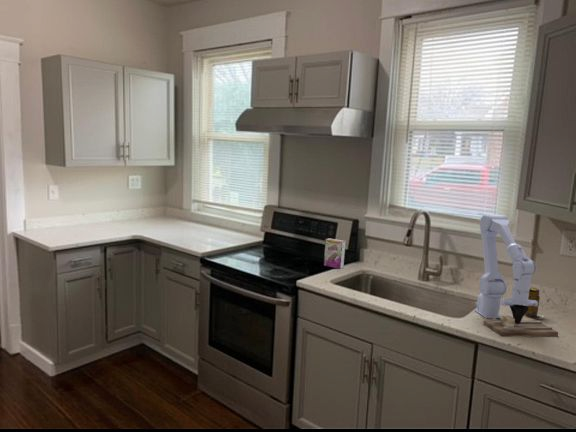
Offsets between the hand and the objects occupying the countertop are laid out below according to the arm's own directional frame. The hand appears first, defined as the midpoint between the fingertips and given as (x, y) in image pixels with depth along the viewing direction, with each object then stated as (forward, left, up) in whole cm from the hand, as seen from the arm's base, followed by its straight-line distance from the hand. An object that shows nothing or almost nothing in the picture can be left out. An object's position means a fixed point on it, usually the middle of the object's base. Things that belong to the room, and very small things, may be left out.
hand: (516, 322), depth 175 cm
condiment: (-16, +19, -3) cm, 25 cm away
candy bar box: (-94, -52, -3) cm, 108 cm away
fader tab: (0, -4, -1) cm, 4 cm away
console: (0, +2, -3) cm, 3 cm away
